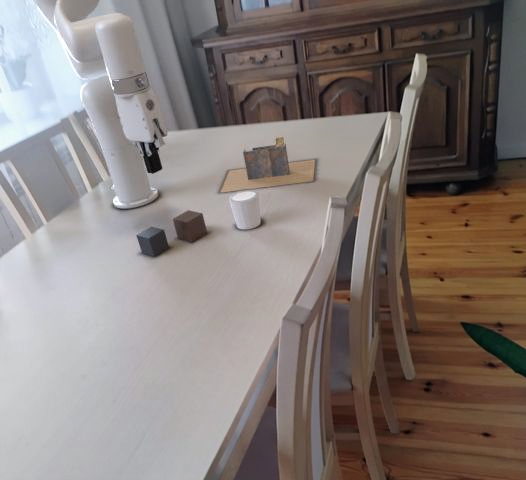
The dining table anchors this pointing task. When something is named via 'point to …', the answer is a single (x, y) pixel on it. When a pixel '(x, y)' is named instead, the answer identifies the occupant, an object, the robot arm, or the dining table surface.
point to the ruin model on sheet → (268, 169)
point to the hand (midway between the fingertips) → (155, 171)
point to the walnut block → (190, 226)
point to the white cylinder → (246, 209)
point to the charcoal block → (152, 241)
